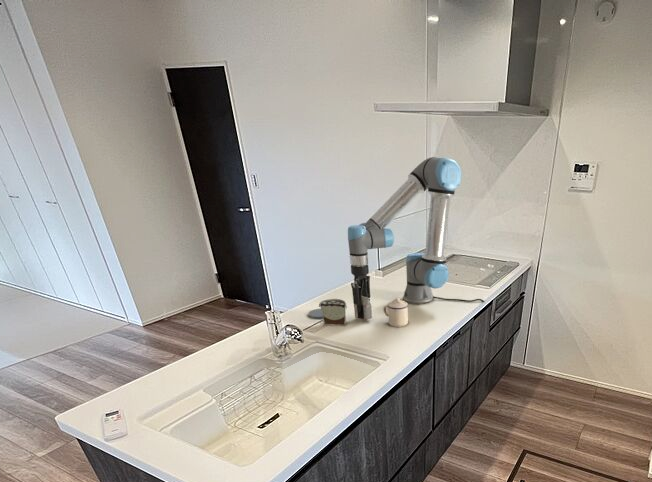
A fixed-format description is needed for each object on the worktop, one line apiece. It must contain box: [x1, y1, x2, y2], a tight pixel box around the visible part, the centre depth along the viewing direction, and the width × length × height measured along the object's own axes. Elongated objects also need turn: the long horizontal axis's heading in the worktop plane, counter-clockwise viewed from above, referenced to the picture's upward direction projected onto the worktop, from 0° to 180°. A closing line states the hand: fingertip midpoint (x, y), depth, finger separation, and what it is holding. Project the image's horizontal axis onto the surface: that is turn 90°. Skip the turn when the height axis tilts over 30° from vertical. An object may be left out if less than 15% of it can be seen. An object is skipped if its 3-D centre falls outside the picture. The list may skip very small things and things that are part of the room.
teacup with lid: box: [383, 297, 409, 328], centre depth 191 cm, size 12×9×12 cm
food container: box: [318, 298, 348, 326], centre depth 191 cm, size 12×6×10 cm, turn 84°
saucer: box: [308, 308, 323, 320], centre depth 201 cm, size 11×11×1 cm
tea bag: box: [353, 296, 373, 321], centre depth 193 cm, size 4×7×10 cm, turn 64°
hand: (363, 316), depth 195 cm, fingers closed on tea bag, 4 cm apart
